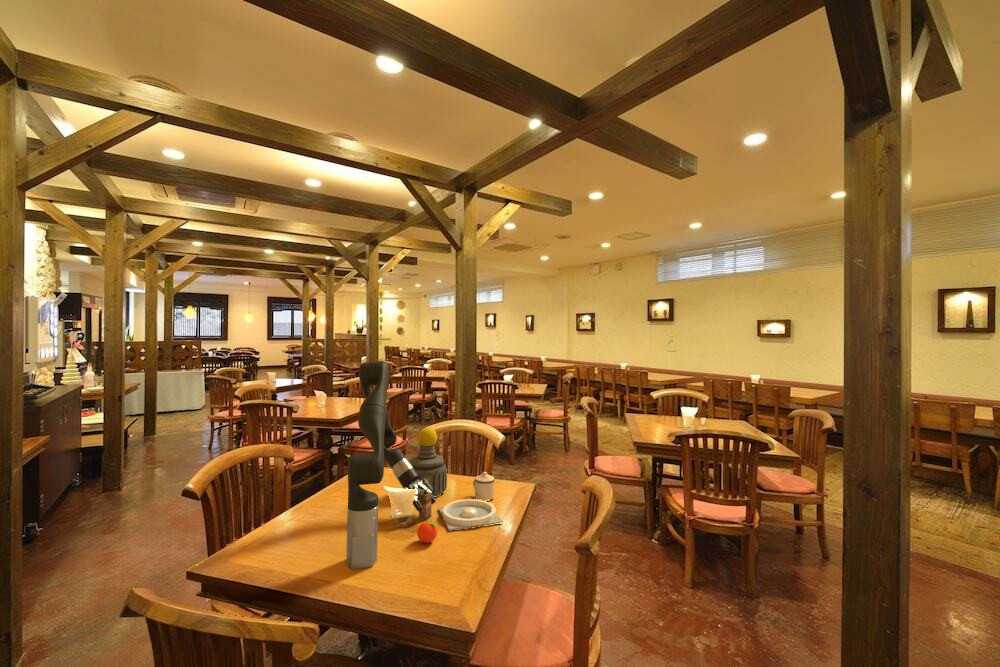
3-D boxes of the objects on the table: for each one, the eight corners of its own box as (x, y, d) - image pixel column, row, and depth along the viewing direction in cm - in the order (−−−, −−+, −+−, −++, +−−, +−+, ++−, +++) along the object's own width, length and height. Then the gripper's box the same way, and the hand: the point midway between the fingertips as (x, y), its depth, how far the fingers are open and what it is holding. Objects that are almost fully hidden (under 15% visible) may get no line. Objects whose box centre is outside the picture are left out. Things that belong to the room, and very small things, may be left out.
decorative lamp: (406, 486, 194) (407, 424, 195) (445, 484, 198) (446, 423, 199) (404, 501, 176) (405, 432, 177) (447, 499, 179) (448, 431, 180)
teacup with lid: (498, 498, 180) (499, 472, 181) (483, 504, 174) (484, 477, 174) (480, 491, 189) (481, 466, 189) (465, 496, 182) (466, 470, 183)
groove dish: (502, 524, 154) (502, 516, 154) (449, 531, 147) (449, 523, 147) (486, 503, 174) (486, 496, 174) (438, 509, 167) (438, 502, 167)
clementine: (443, 539, 142) (443, 518, 142) (434, 548, 135) (435, 527, 135) (422, 536, 144) (422, 516, 144) (413, 545, 137) (413, 524, 137)
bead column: (431, 517, 160) (431, 489, 160) (426, 520, 157) (426, 492, 157) (424, 515, 161) (424, 488, 161) (418, 518, 158) (419, 491, 158)
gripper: (399, 472, 156) (422, 507, 151) (421, 462, 169) (443, 495, 164) (388, 483, 158) (411, 518, 153) (410, 473, 171) (432, 505, 166)
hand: (427, 506), depth 158 cm, fingers open, 8 cm apart
